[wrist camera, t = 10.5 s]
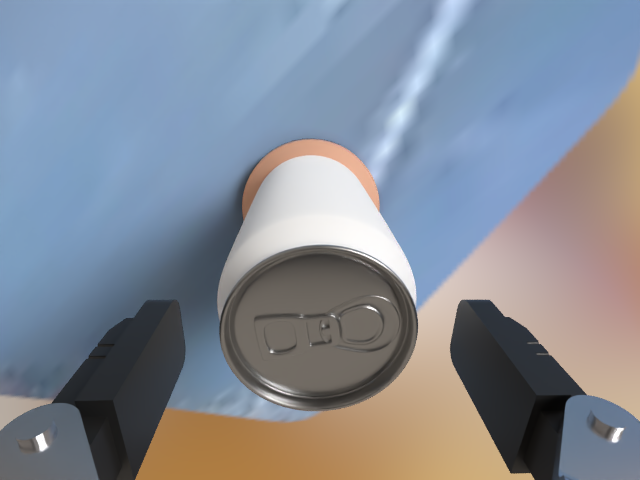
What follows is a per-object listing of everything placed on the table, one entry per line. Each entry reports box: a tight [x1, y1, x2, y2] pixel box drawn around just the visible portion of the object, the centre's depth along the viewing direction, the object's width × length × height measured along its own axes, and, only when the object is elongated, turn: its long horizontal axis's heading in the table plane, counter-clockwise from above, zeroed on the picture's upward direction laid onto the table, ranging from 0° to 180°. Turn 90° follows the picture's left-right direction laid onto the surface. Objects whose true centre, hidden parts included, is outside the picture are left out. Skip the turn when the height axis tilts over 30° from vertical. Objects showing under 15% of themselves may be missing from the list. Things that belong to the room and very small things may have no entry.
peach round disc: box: [242, 138, 379, 220], centre depth 22 cm, size 8×8×1 cm
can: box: [217, 155, 418, 411], centre depth 16 cm, size 6×6×12 cm
